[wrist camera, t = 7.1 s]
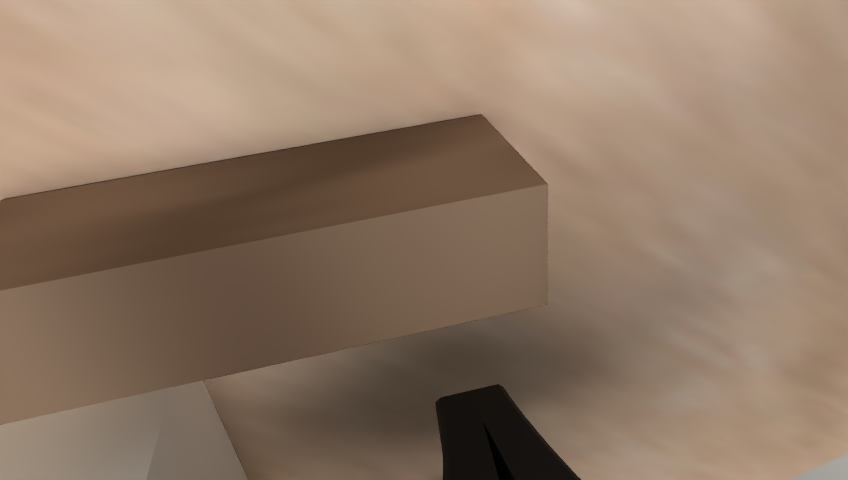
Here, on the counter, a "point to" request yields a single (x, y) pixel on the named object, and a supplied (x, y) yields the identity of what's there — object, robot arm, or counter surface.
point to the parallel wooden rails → (262, 262)
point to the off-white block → (124, 441)
